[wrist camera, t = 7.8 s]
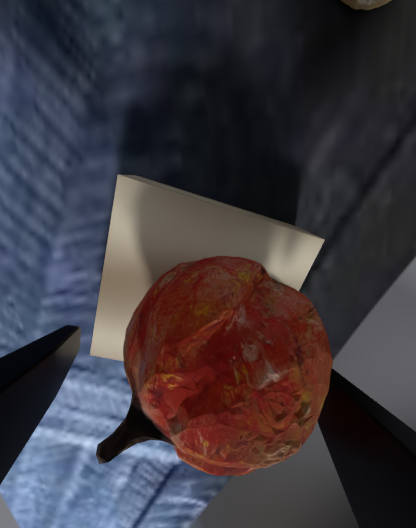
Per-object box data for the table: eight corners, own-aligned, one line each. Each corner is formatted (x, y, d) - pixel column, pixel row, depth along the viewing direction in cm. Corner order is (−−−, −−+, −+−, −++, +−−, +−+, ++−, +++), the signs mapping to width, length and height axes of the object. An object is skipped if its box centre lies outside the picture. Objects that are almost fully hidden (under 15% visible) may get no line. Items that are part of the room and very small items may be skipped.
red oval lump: (246, 213, 12) (23, 263, 6) (414, 259, 7) (123, 649, 2) (235, 316, 16) (83, 410, 10) (344, 393, 11) (172, 671, 5)
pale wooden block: (239, 341, 18) (251, 384, 14) (113, 314, 16) (89, 355, 12) (291, 224, 14) (324, 239, 11) (139, 175, 13) (117, 174, 9)
